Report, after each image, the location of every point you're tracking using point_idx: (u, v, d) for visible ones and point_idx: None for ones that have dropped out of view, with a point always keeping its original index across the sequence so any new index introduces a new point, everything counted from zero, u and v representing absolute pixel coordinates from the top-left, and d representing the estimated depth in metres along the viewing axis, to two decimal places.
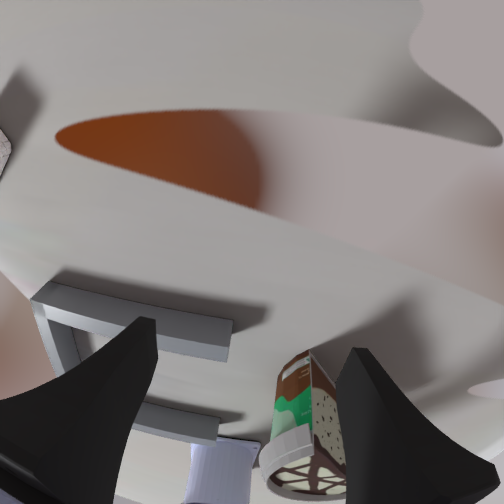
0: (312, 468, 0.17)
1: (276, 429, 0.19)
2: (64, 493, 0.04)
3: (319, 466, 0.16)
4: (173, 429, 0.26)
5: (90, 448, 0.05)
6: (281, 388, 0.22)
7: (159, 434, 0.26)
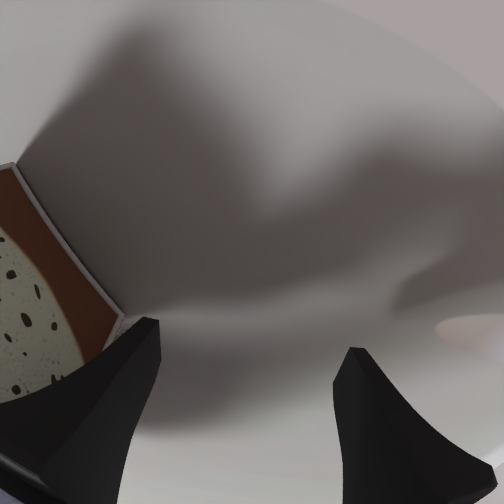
0: None
1: None
2: (69, 496, 0.04)
3: None
4: None
5: (95, 450, 0.05)
6: None
7: None
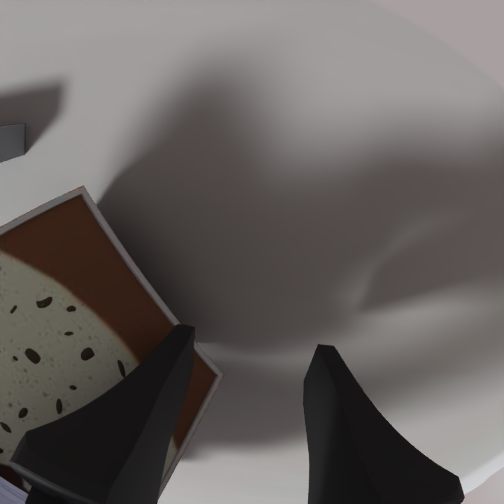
0: None
1: None
2: None
3: None
4: None
5: (144, 466, 0.05)
6: None
7: None
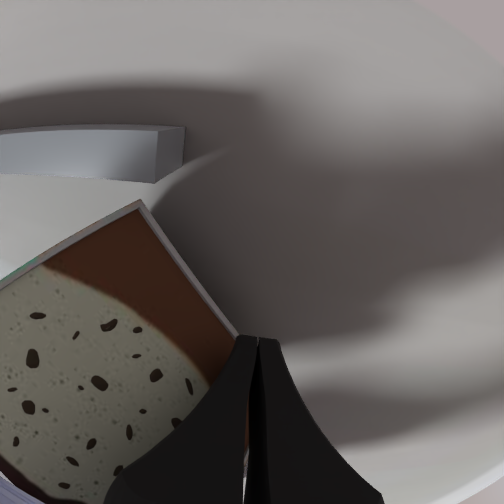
0: None
1: None
2: None
3: None
4: None
5: None
6: None
7: None
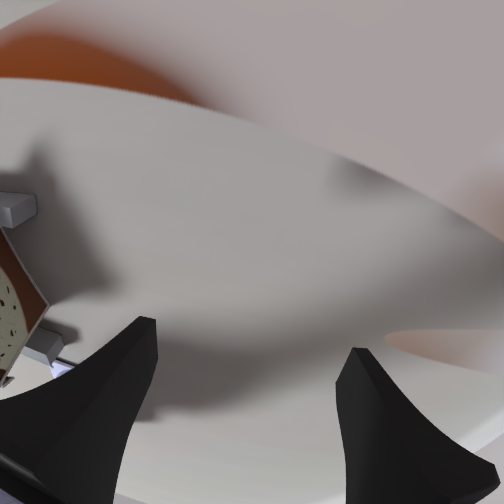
0: None
1: None
2: (64, 493, 0.04)
3: None
4: None
5: (90, 448, 0.05)
6: None
7: None
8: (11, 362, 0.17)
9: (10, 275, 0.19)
